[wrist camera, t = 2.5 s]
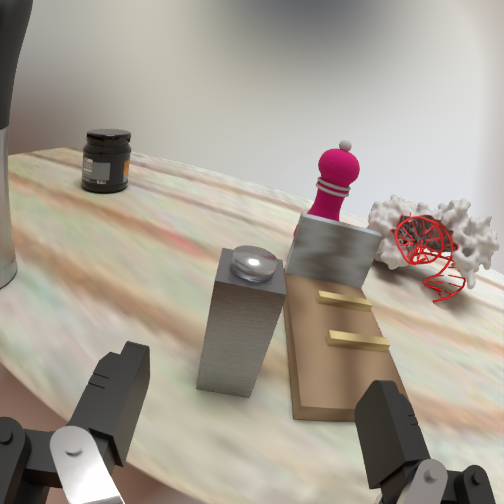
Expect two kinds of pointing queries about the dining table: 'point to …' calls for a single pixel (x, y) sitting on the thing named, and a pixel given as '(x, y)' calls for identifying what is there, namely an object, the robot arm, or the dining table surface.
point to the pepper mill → (334, 181)
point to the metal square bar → (241, 319)
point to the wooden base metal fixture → (332, 320)
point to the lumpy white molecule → (433, 237)
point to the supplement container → (106, 160)
